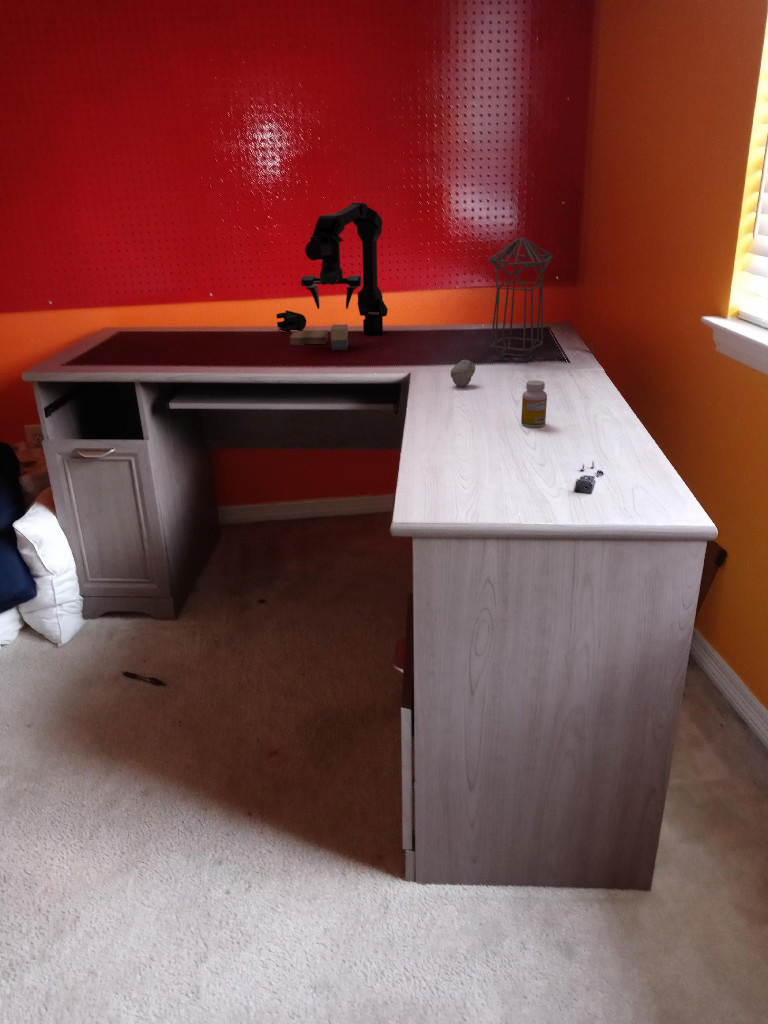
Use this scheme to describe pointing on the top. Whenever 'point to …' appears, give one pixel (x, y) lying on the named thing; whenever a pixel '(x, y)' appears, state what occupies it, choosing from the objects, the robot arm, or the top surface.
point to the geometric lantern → (510, 249)
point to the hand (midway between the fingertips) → (332, 308)
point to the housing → (339, 337)
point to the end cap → (291, 321)
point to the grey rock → (462, 373)
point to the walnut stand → (308, 337)
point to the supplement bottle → (534, 405)
